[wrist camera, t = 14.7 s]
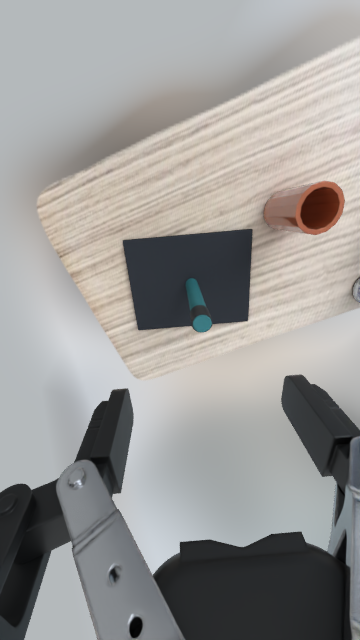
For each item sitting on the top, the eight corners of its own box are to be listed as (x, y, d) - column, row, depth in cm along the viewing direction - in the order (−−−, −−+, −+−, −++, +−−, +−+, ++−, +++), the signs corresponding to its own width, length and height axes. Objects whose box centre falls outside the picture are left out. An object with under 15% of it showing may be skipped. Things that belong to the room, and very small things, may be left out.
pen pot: (262, 231, 32) (292, 236, 24) (265, 191, 30) (299, 182, 22) (296, 228, 32) (338, 232, 24) (301, 188, 30) (349, 178, 22)
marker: (185, 290, 35) (192, 334, 22) (184, 278, 34) (191, 315, 21) (198, 289, 35) (213, 332, 22) (197, 276, 34) (212, 313, 21)
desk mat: (138, 328, 38) (138, 330, 37) (123, 240, 32) (122, 240, 32) (247, 319, 38) (248, 321, 37) (251, 229, 32) (252, 229, 31)
